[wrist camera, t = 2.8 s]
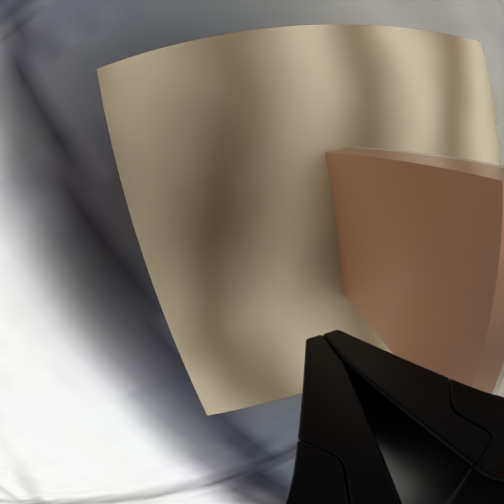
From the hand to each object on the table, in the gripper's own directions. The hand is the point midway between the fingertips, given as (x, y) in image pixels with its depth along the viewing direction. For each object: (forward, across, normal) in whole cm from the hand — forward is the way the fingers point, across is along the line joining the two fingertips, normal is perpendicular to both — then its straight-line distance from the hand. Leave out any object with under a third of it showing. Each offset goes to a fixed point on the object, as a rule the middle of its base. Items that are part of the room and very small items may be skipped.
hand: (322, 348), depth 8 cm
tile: (+8, -4, 0) cm, 9 cm away
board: (+9, -5, 0) cm, 10 cm away
